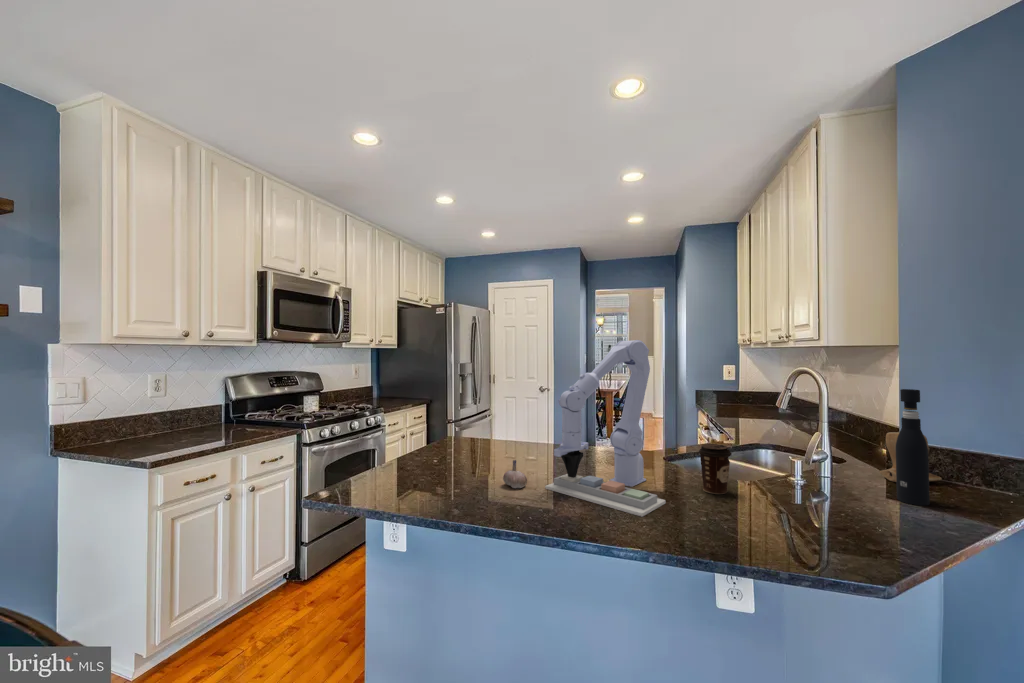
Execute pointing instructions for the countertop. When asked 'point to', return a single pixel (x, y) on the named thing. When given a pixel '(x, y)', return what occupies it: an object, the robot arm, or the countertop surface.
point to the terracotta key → (613, 486)
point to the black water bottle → (912, 454)
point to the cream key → (572, 478)
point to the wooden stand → (891, 446)
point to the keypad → (607, 497)
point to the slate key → (591, 481)
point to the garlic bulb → (515, 477)
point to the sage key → (636, 494)
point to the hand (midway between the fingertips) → (571, 476)
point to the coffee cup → (715, 468)
